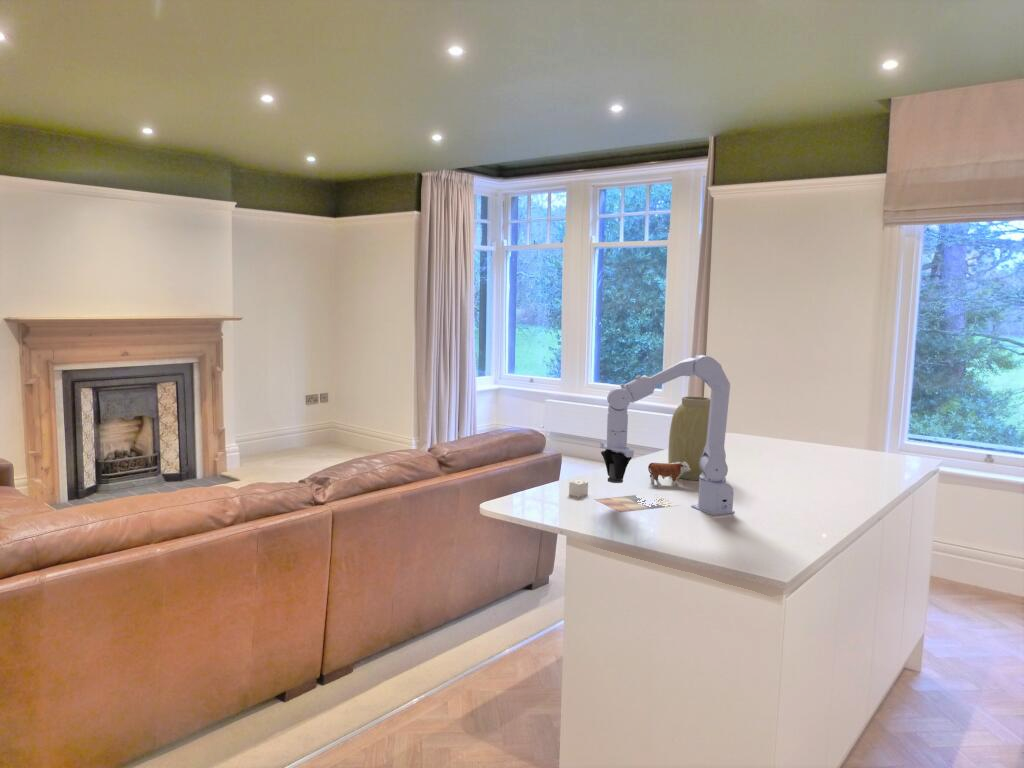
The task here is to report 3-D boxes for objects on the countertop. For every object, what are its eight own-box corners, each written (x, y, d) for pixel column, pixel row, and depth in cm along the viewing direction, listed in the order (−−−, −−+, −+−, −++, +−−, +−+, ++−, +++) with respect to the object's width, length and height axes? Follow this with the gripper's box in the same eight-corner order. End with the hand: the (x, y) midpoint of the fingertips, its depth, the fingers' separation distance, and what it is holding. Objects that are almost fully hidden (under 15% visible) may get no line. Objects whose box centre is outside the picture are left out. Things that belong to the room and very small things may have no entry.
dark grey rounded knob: (626, 482, 201) (626, 465, 200) (612, 483, 199) (613, 466, 199) (617, 478, 205) (618, 462, 204) (604, 480, 203) (605, 463, 203)
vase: (702, 469, 253) (706, 394, 250) (728, 480, 236) (733, 401, 234) (658, 471, 248) (661, 395, 246) (682, 483, 232) (686, 401, 229)
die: (587, 495, 214) (588, 482, 213) (579, 497, 211) (579, 484, 211) (577, 492, 217) (577, 479, 216) (569, 494, 214) (569, 481, 213)
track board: (679, 506, 204) (679, 505, 203) (620, 512, 195) (620, 511, 195) (650, 494, 216) (650, 493, 216) (594, 500, 208) (594, 499, 208)
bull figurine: (690, 488, 225) (691, 463, 224) (647, 485, 228) (648, 460, 227) (689, 485, 229) (690, 460, 229) (647, 482, 232) (648, 457, 231)
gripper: (592, 426, 206) (590, 472, 207) (619, 435, 192) (617, 484, 194) (612, 425, 208) (611, 471, 210) (640, 434, 195) (638, 482, 197)
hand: (615, 477), depth 202 cm, fingers closed on dark grey rounded knob, 4 cm apart
